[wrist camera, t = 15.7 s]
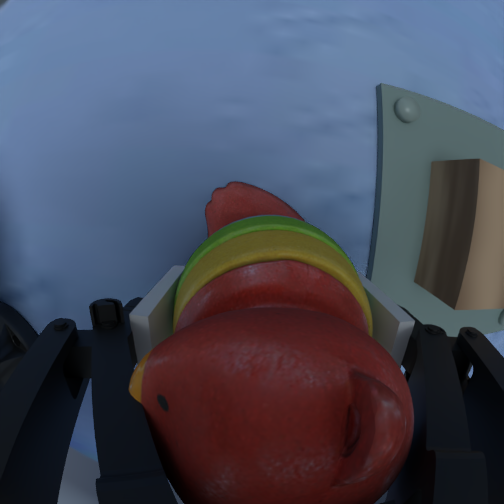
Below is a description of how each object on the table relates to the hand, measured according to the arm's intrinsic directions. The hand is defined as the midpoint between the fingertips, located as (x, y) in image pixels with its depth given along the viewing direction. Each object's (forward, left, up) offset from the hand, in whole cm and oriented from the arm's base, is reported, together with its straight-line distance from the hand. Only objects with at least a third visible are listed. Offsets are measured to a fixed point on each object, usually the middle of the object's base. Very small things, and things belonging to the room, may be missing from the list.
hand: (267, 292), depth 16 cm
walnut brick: (+19, +4, -4) cm, 20 cm away
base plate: (+19, +4, -5) cm, 20 cm away
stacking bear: (0, 0, -5) cm, 5 cm away
